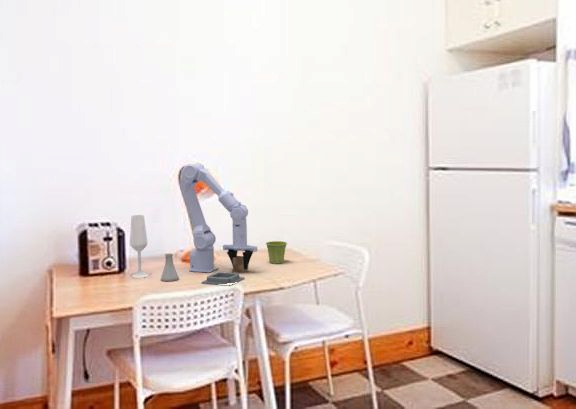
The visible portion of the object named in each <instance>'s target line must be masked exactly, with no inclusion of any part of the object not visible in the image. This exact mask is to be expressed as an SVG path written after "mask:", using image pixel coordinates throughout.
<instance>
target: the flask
mask: <svg viewBox="0 0 576 409" xmlns="http://www.w3.org/2000/svg"><path fill="white" fill-rule="evenodd" d="M164 256H165V263H164V267H163V270H162V273H161V275H160V276H161V277H160V281H163V282H172V281H173V282H174V281H179V280H180V278H179V275H178V272H177V269H176V267H175V264H174V259H173V256H174V253H171V252H169V253H164Z"/></svg>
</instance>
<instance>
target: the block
mask: <svg viewBox="0 0 576 409" xmlns="http://www.w3.org/2000/svg"><path fill="white" fill-rule="evenodd" d="M248 271H249V268H248V269H244V258H243V255H237V256H236V257H234V258H233V266H232V273H239V274H245V273H247V272H248Z"/></svg>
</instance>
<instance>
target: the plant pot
mask: <svg viewBox="0 0 576 409" xmlns="http://www.w3.org/2000/svg"><path fill="white" fill-rule="evenodd" d="M265 245H266V248H267V253H268V261H269V263H270V264H274V265H275V264H284V261H285V260H284V259H285V253H286V248H287V245H288V242H287V241H286V242H285V241H282V240H279V241H277V240H276V241H275V240H273V241H267V242H265Z"/></svg>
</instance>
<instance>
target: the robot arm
mask: <svg viewBox="0 0 576 409" xmlns="http://www.w3.org/2000/svg"><path fill="white" fill-rule="evenodd" d="M180 175H181V179H180V183H179V184H180V185H179V187H180V192H181V193H182V197H183V200H184V203H185V206H186V209H187V212H188V215H189V219H190V220H191V224H192V226H193V232H192V235H193V242H192V243H193V246H194V247H195V248H192V249H191V250H190V253H189V270H188V271H189V272H197V273H199V272H200V273H211V272H213V271H216V270H218V269H219V267H217V266H215V248H214V245H215V244H216V239H217V238H216V235H215V233H213V231H212V230H211V228H210V226H209V225H208V223H206V219H205V216H204V213H203V210H202V207H201V205H200V202H199V199H198V195H197V192H196V189H195V187H196V186H197V184H198V182H201V183H204V184H206V185H207V187H208V188H210V190H211V191H213V192H214V193H215V194H216V195H217V197H218V202H219V203H220V204H221V205H222V206H223V207H224V209H226V211H228V212H229V215H230V218H231V219H232V244H224V245H222V251H226V254H227V256H228V258H229V260H230V262H231V266H232V267H233V258H234V257H236V256H238V252H239V251H240V252H241V251H242V256H243V258H244V269H248V270H249V264H250V261H251V258H252V256H253V254H254V253H257V252H258V246H255V245H250V244H249V245H248V226H247V225H248V224H247V217H248V214H249V209H248V208H247V206H246V205H245V204H242V202H241V201H239V200H238V199H237V198H236V197H235V196H234V192H232V191H231V192H230V191H229V190H225V189H224V188H223V187H222V186H221V184H219V182H218V181H217V180H216V178H215V177H214V176H213V175H212V174H211V172H210V170H208V169H207V168H205V166H204V165H203V164H202V163H198V162H197V163H192V164H191V163H188V164H185V165H184V167H183V168H182V170H181V171H180Z"/></svg>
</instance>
